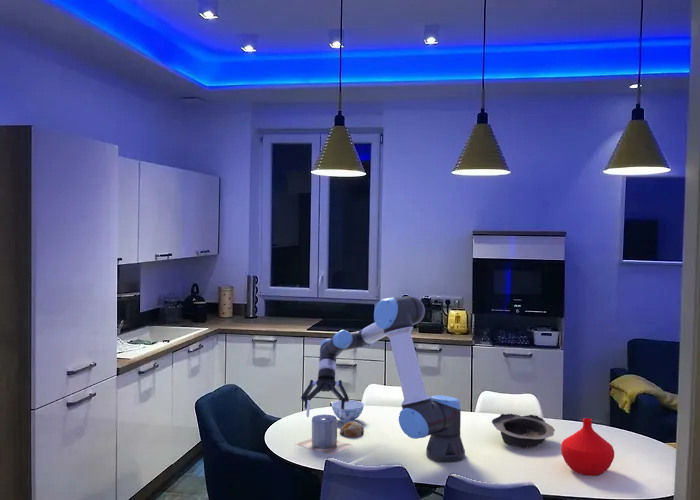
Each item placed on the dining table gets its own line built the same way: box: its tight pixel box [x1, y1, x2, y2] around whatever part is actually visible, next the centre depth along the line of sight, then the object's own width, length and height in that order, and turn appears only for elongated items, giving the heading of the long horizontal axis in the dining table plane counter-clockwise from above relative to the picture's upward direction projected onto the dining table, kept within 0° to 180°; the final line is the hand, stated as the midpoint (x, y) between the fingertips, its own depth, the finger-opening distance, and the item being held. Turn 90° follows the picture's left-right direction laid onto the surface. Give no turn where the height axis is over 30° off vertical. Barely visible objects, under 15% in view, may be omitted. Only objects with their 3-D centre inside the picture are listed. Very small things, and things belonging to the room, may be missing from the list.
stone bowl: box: [491, 413, 556, 449], centre depth 260 cm, size 25×25×9 cm
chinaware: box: [331, 399, 365, 424], centre depth 291 cm, size 15×15×8 cm
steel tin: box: [311, 414, 338, 449], centre depth 255 cm, size 10×10×11 cm
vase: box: [560, 417, 615, 477], centre depth 228 cm, size 18×18×19 cm
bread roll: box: [339, 421, 365, 438], centre depth 269 cm, size 10×10×8 cm
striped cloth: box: [294, 437, 355, 456], centre depth 255 cm, size 20×14×1 cm
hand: (323, 415), depth 259 cm, fingers open, 13 cm apart
